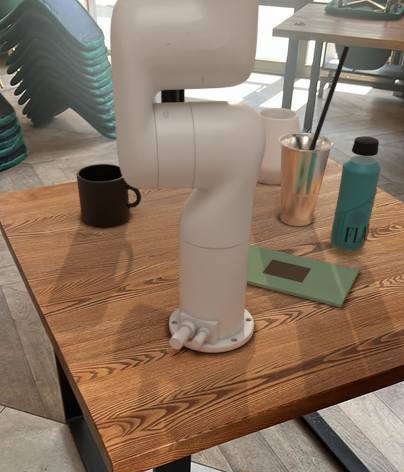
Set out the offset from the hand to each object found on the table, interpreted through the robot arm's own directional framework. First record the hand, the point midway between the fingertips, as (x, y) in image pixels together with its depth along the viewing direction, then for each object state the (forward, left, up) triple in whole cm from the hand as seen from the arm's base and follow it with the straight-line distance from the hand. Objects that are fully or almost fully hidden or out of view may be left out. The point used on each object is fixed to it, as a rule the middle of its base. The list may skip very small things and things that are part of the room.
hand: (173, 105), depth 112 cm
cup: (+18, -16, -18) cm, 30 cm away
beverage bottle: (-9, -40, -18) cm, 44 cm away
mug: (-17, +5, -18) cm, 25 cm away
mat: (-22, -34, -18) cm, 44 cm away
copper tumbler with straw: (0, -28, -18) cm, 33 cm away
